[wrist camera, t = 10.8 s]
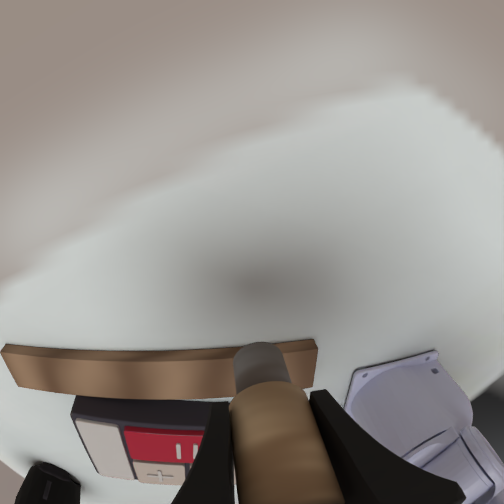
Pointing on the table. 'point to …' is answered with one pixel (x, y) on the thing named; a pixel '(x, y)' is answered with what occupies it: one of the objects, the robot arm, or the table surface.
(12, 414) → the table surface
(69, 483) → the portable speaker
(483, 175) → the table surface
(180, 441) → the calculator
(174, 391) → the board
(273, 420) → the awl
